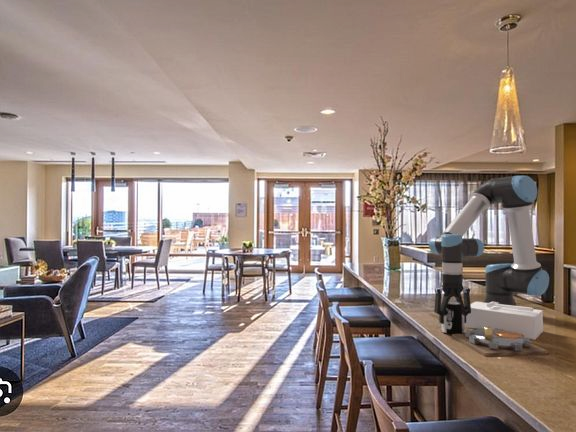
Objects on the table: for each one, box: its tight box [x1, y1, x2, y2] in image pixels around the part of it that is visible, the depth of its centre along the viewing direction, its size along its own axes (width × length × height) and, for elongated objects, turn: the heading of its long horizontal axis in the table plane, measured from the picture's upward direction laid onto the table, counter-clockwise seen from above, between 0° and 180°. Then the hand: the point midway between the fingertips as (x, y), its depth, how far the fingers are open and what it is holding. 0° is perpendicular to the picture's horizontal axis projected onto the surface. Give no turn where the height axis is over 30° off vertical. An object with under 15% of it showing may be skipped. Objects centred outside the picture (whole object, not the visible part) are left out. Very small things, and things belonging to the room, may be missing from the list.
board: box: [451, 333, 549, 357], centre depth 135 cm, size 22×21×1 cm
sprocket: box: [464, 327, 531, 351], centre depth 135 cm, size 20×20×6 cm
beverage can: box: [445, 300, 463, 335], centre depth 150 cm, size 7×7×12 cm
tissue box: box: [464, 301, 544, 340], centre depth 155 cm, size 14×25×11 cm, turn 46°
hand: (452, 331), depth 150 cm, fingers closed on beverage can, 7 cm apart
